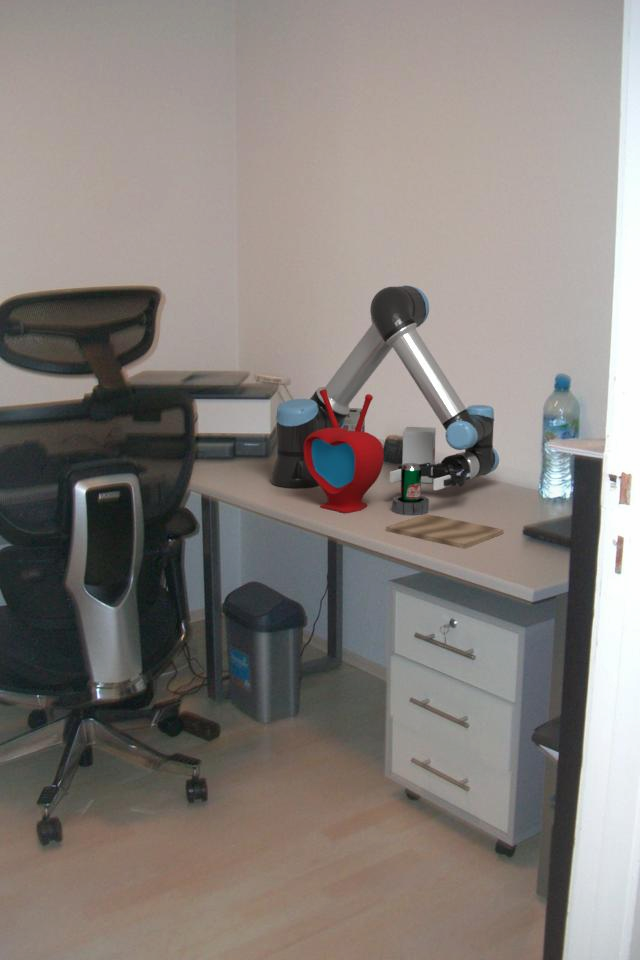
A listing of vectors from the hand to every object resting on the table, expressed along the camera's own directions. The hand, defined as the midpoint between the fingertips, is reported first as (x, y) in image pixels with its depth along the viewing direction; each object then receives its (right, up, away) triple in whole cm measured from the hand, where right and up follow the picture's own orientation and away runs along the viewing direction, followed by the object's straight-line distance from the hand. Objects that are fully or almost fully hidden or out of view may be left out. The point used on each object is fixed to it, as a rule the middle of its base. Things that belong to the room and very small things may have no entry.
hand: (412, 480), depth 240 cm
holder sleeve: (0, -8, +2) cm, 8 cm away
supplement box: (+5, 0, +38) cm, 38 cm away
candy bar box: (-15, +7, +68) cm, 70 cm away
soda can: (0, -8, +2) cm, 8 cm away
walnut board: (+6, -12, -18) cm, 22 cm away
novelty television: (-17, -7, +6) cm, 19 cm away
